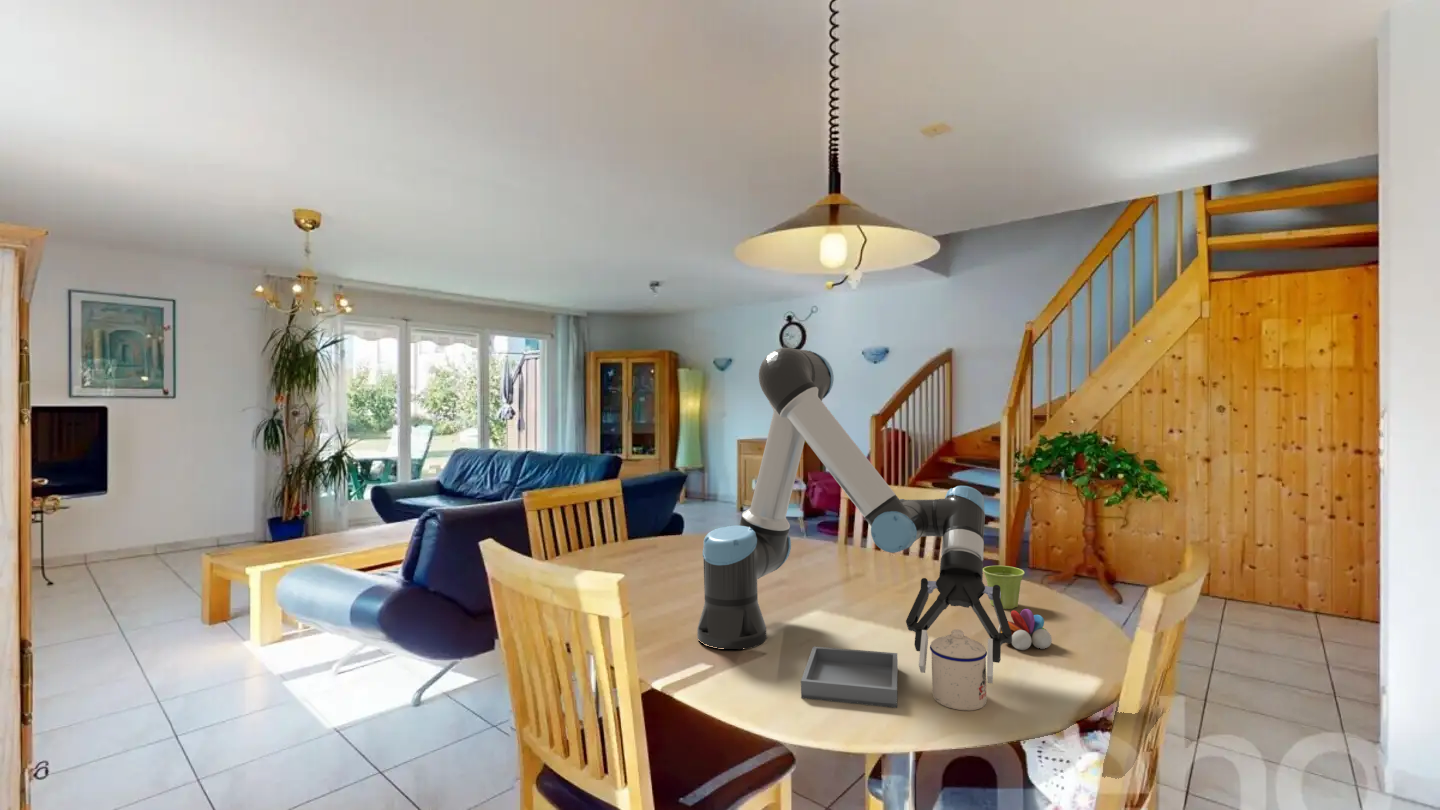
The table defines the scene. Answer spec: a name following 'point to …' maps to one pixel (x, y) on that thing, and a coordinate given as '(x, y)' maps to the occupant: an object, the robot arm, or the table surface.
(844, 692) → the tray
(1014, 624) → the rainbow segmented toy
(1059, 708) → the table surface
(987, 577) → the plant pot
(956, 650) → the teacup with lid
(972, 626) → the table surface
